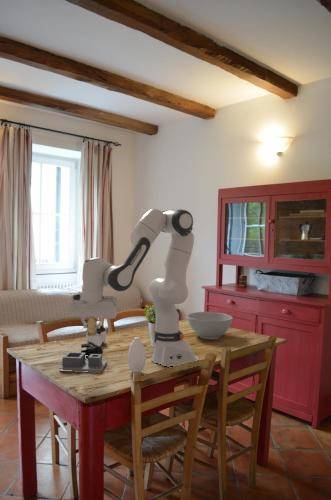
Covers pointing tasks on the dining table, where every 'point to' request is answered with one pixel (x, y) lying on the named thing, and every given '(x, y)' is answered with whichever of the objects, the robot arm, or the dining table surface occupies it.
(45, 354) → the dining table surface
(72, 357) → the socket block
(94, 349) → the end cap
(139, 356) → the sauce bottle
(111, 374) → the dining table surface
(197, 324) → the decorative bowl
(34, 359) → the dining table surface
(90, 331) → the pipe nipple
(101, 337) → the spread jar
